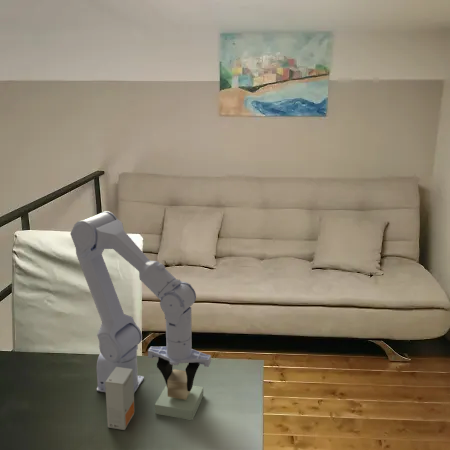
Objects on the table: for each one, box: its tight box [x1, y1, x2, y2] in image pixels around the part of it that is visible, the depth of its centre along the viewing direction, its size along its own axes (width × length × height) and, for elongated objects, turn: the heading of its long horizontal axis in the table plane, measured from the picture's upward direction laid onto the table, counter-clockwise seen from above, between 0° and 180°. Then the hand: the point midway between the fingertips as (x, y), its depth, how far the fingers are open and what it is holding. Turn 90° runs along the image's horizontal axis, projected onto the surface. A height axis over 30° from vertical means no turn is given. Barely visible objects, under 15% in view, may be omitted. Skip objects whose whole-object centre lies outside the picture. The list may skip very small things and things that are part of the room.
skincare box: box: [105, 367, 135, 431], centre depth 112 cm, size 6×4×12 cm
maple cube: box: [167, 368, 190, 400], centre depth 117 cm, size 4×4×4 cm
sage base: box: [154, 385, 204, 421], centre depth 119 cm, size 9×9×2 cm
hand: (179, 387), depth 118 cm, fingers closed on maple cube, 4 cm apart
